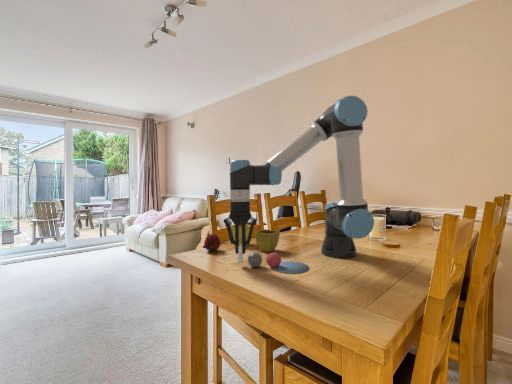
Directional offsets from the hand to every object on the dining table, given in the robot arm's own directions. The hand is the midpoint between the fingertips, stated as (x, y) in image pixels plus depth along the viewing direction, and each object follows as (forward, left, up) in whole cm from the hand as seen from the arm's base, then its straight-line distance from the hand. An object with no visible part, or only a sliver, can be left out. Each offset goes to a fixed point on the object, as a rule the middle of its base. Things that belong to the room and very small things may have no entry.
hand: (240, 261), depth 102 cm
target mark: (-19, 0, -2) cm, 19 cm away
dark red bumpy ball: (+16, -22, -2) cm, 27 cm away
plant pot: (+4, -35, -2) cm, 35 cm away
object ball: (-13, 0, +1) cm, 13 cm away
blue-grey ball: (-5, 0, +1) cm, 6 cm away
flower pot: (-10, -24, -2) cm, 26 cm away
